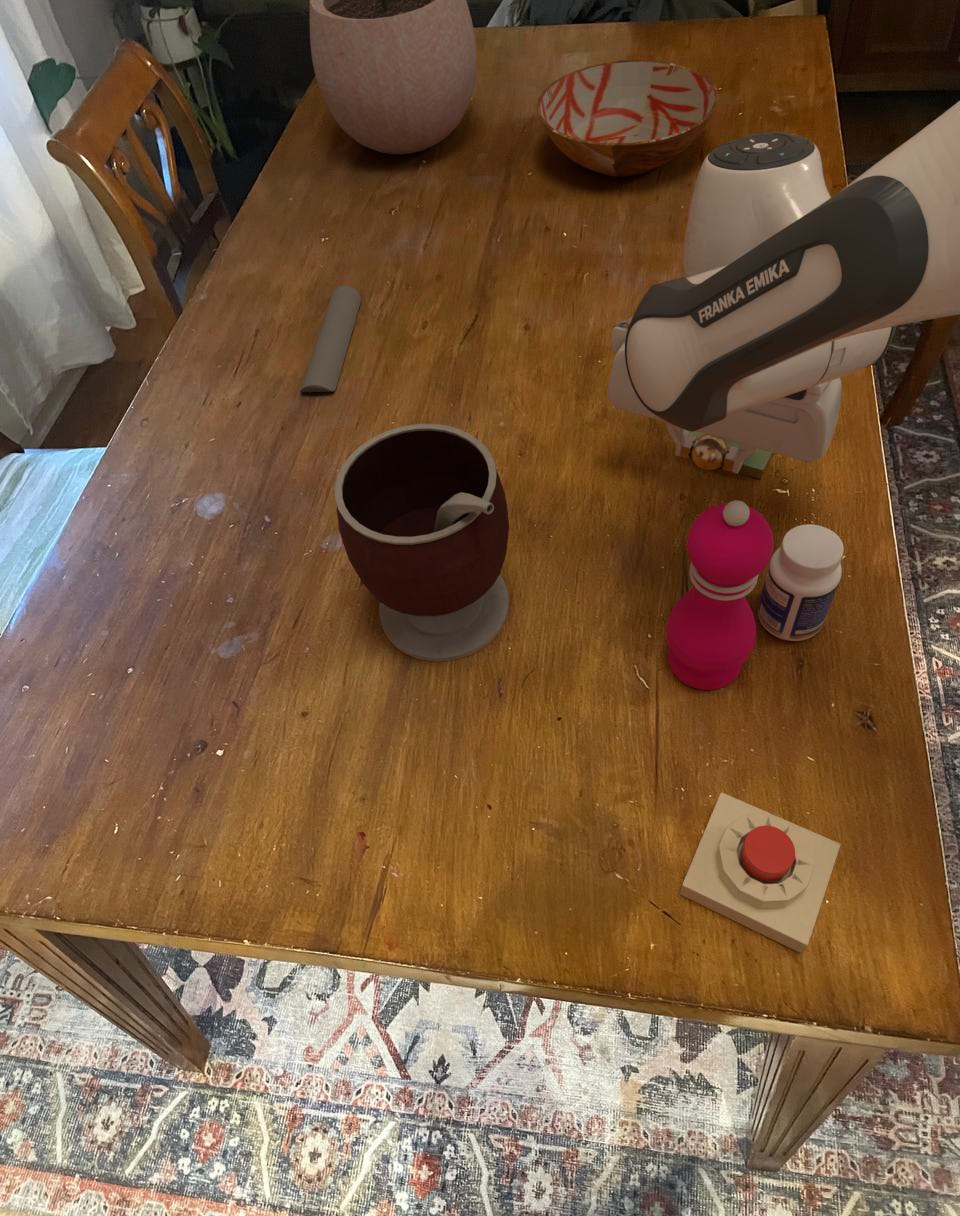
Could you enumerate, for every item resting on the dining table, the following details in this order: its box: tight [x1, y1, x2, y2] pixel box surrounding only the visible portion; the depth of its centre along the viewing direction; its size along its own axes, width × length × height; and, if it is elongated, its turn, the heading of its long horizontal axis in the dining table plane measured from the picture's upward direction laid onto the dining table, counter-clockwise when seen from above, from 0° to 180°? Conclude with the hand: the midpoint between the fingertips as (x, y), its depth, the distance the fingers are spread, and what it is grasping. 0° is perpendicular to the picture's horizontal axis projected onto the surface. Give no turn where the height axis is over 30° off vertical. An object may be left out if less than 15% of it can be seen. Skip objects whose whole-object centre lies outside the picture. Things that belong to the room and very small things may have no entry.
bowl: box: [535, 59, 719, 178], centre depth 122 cm, size 25×25×8 cm
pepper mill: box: [665, 500, 774, 691], centre depth 66 cm, size 7×7×20 cm
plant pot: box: [309, 0, 477, 155], centre depth 122 cm, size 24×24×30 cm
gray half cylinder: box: [299, 285, 362, 393], centre depth 105 cm, size 4×20×2 cm, turn 175°
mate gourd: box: [334, 423, 510, 663], centre depth 72 cm, size 16×14×20 cm
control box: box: [679, 792, 841, 954], centre depth 61 cm, size 9×8×4 cm
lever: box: [691, 434, 728, 471], centre depth 81 cm, size 14×3×3 cm, turn 151°
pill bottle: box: [757, 523, 845, 642], centre depth 72 cm, size 6×6×10 cm
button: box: [741, 826, 795, 881], centre depth 59 cm, size 3×3×2 cm
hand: (708, 460), depth 81 cm, fingers closed on lever, 3 cm apart
